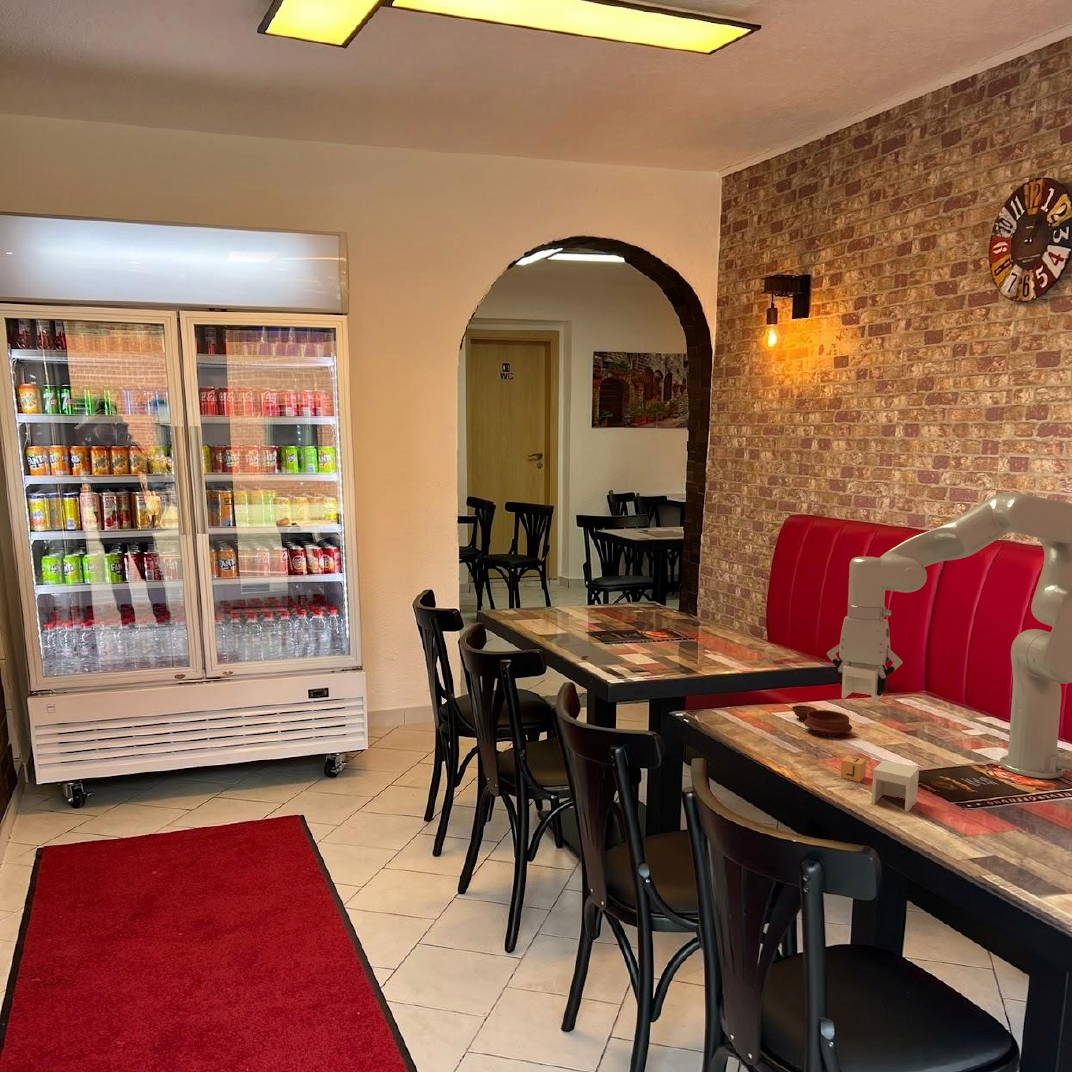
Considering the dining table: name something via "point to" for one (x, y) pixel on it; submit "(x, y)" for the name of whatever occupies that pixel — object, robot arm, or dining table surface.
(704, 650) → the dining table surface
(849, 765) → the letter cube
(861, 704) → the dining table surface
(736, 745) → the dining table surface
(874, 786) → the cover empty
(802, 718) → the pottery
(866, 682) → the cover cube
